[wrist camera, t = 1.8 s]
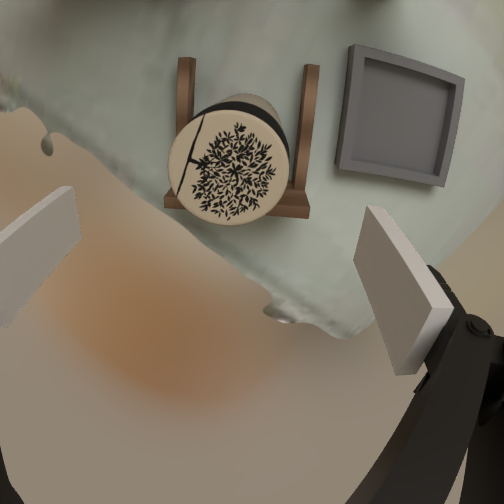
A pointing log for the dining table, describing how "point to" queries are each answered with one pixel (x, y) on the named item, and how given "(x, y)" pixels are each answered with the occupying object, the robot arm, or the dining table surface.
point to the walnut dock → (294, 194)
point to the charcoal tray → (398, 117)
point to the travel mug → (230, 161)
